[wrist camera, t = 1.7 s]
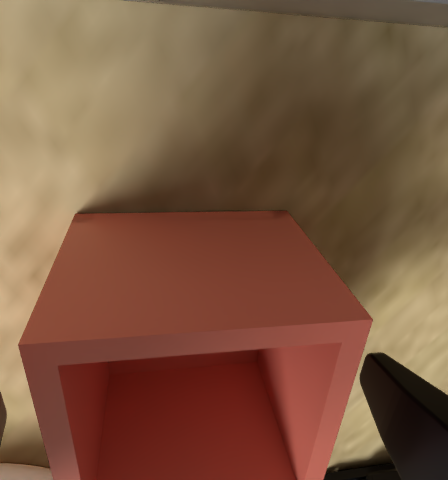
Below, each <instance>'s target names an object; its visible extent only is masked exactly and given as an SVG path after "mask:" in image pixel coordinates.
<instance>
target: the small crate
mask: <svg viewBox="0 0 448 480" xmlns="http://www.w3.org/2000/svg"><path fill="white" fill-rule="evenodd" d="M372 321H373V319H372V318H371V316H370V315H369V314H368V313H367V311H366V310H365V309H364V308H363V306H362V305H361V304H360V302H359V301H358V300H357V299H356V297H355V296H354V295H353V294H352V292H351V291H350V290H349V289H348V287H347V286H346V285H345V284H344V282H343V281H342V280H341V278H340V277H339V276H338V275H337V273H336V272H335V271H334V270H333V268H332V267H331V266H330V265H329V263H328V262H327V261H326V260H325V258H324V257H323V256H322V254H321V253H320V252H319V251H318V249H317V248H316V247H315V246H314V244H313V243H312V242H311V241H310V239H309V238H308V237H307V236H306V234H305V233H304V232H303V230H302V229H301V228H300V227H299V225H298V224H297V223H296V222H295V220H294V219H293V218H292V217H291V215H290V214H289V213H288V212H287V211H228V212H158V213H87V214H75V215H74V218H73V220H72V222H71V225H70V227H69V229H68V232H67V234H66V236H65V238H64V241H63V243H62V245H61V248H60V250H59V252H58V255H57V257H56V259H55V261H54V264H53V266H52V268H51V271H50V273H49V275H48V277H47V280H46V282H45V284H44V287H43V289H42V291H41V294H40V296H39V298H38V300H37V303H36V305H35V307H34V310H33V312H32V314H31V317H30V319H29V321H28V323H27V326H26V328H25V330H24V333H23V335H22V337H21V339H20V342H19V344H18V346H19V350H20V354H21V358H22V362H23V365H24V369H25V373H26V377H27V381H28V385H29V388H30V392H31V396H32V400H33V404H34V408H35V411H36V415H37V419H38V423H39V427H40V431H41V434H42V438H43V442H44V446H45V450H46V454H47V457H48V461H49V465H50V469H51V473H52V477H53V480H323V479H324V476H325V473H326V470H327V466H328V463H329V460H330V457H331V454H332V450H333V447H334V444H335V441H336V437H337V434H338V431H339V428H340V425H341V421H342V418H343V415H344V412H345V408H346V405H347V402H348V399H349V395H350V392H351V389H352V386H353V383H354V379H355V376H356V373H357V370H358V366H359V363H360V360H361V357H362V354H363V350H364V347H365V344H366V341H367V337H368V334H369V331H370V328H371V325H372Z"/></svg>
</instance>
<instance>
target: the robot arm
mask: <svg viewBox="0 0 448 480" xmlns="http://www.w3.org/2000/svg"><path fill="white" fill-rule="evenodd" d="M360 384H361V387H362V389H363V392H364V394H365V397H366V400H367V402H368V405H369V407H370V410H371V413H372V415H373V418H374V421H375V423H376V426H377V428H378V431H379V433H380V436H381V438H382V441H383V443H384V445H385V447H386V449H387V451H388V453H389V455H390V457H391V459H392V461H393V463H392V464H385V465H379V466H372V467H365V468H358V469H351V470H345V471H338V472H332V473H329V474H327V475H325V476H324V479H323V480H448V395H447V394H445V393H444V392H442V391H441V390H439V389H438V388H436V387H435V386H433V385H432V384H430V383H429V382H427V381H425V380H424V379H422V378H421V377H419V376H418V375H416V374H415V373H413V372H412V371H410V370H409V369H407V368H406V367H404V366H403V365H401V364H400V363H398V362H397V361H395V360H394V359H392V358H391V357H389V356H388V355H386V354H384V353H381V352H378V353H369V354H367V355H366V357H365V360H364V363H363V366H362V370H361V373H360ZM6 418H7V412H6V408H5V405H4V402H3V398H2V395H1V392H0V445H1V441H2V437H3V433H4V428H5V424H6Z"/></svg>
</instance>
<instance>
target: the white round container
mask: <svg viewBox="0 0 448 480" xmlns="http://www.w3.org/2000/svg"><path fill="white" fill-rule="evenodd" d="M0 480H53V477H52V473H51V469H49V468H44V467H40V466H32V465H25V464H11V463H0Z"/></svg>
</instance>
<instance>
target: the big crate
mask: <svg viewBox="0 0 448 480" xmlns="http://www.w3.org/2000/svg"><path fill="white" fill-rule="evenodd" d="M125 1H137V2H149V3H161V4H173V5H185V6H197V7H209V8H221V9H233V10H244V11H256V12H268V13H280V14H292V15H304V16H316V17H328V18H340V19H352V20H364V21H376V22H388V23H400V24H412V25H424V26H436V27H448V0H125Z"/></svg>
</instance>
